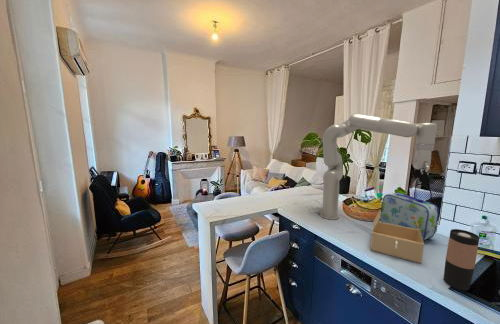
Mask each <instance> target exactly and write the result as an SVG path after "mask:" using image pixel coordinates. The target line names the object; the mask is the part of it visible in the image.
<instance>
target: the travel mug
mask: <svg viewBox="0 0 500 324" xmlns="http://www.w3.org/2000/svg"><path fill="white" fill-rule="evenodd" d="M479 243H480V236H479V235H478V234H475V233H474V232H471V231H468V230H465V229H458V228H452V229H451V230H450V233H449V239H448V242H447V249H446V255H445V263H444V269H443V282H444V283H445V284H447V285H448V286H450V287H452V288H453V289H457V290H460V291H469V290H470V288H471V283H472V280H473V275H474V271H475V266H476V261H477V260H476V259H477V255H478V249H479Z"/></svg>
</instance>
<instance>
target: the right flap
mask: <svg viewBox="0 0 500 324" xmlns="http://www.w3.org/2000/svg"><path fill="white" fill-rule="evenodd" d="M414 217H415V220H416V224H417V228H418V231H419V234H420V237H421V240H422V242H423V243H424V240H423V238H422V235H421V231H420V227H419V224H418V221H417V218H416V215H414Z"/></svg>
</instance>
